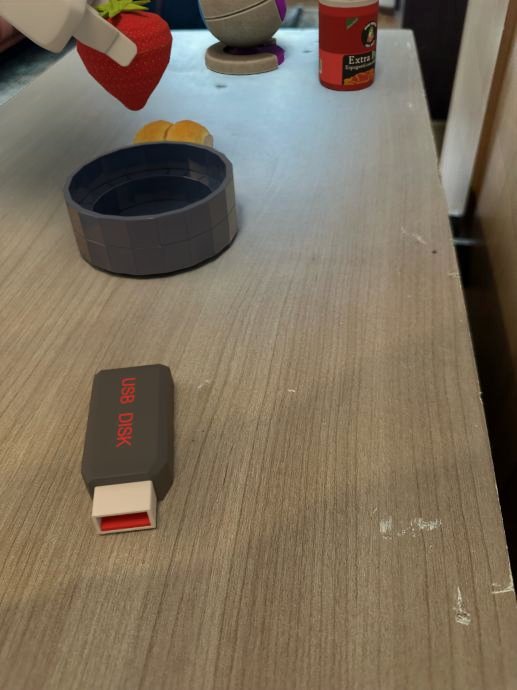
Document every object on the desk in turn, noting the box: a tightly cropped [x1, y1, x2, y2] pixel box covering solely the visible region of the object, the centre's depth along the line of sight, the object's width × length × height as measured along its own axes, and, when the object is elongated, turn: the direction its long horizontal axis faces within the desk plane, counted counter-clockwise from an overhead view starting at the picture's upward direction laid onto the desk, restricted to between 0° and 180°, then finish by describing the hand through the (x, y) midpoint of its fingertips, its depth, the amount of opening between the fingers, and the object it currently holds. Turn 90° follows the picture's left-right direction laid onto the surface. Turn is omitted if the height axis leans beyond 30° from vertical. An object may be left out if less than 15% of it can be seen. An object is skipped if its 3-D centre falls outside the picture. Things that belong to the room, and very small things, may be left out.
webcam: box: [197, 0, 288, 75], centre depth 94 cm, size 13×13×15 cm
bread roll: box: [132, 119, 214, 149], centre depth 73 cm, size 8×9×4 cm
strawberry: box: [75, 0, 174, 112], centre depth 51 cm, size 6×8×10 cm
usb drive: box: [80, 363, 175, 535], centre depth 40 cm, size 5×12×3 cm, turn 6°
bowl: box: [61, 141, 239, 276], centre depth 60 cm, size 15×15×6 cm
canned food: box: [317, 0, 380, 92], centre depth 86 cm, size 8×8×11 cm
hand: (132, 42), depth 51 cm, fingers closed on strawberry, 6 cm apart
